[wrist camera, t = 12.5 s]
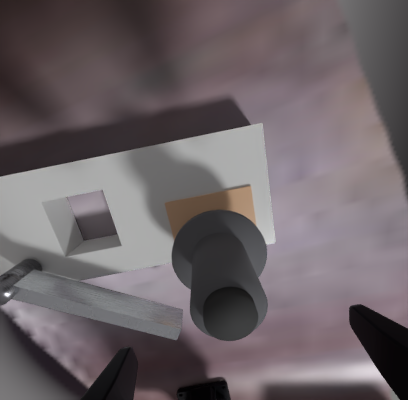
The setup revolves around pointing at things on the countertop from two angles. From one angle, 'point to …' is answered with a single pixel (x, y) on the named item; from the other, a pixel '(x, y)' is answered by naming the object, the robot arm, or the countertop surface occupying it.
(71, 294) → the lever with ball end
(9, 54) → the countertop surface
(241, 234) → the plug
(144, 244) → the white flat board
